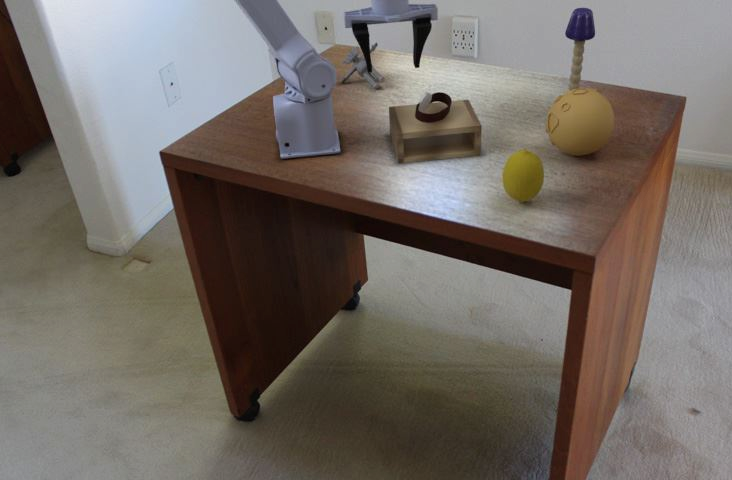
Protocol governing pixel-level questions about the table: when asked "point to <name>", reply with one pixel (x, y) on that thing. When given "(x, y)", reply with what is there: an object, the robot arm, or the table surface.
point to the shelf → (435, 133)
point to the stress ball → (580, 121)
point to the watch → (424, 104)
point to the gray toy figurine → (362, 67)
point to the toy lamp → (579, 40)
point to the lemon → (523, 175)
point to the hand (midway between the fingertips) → (393, 67)
